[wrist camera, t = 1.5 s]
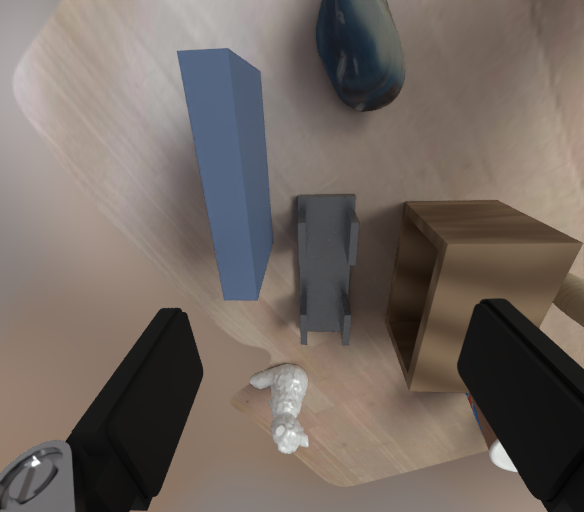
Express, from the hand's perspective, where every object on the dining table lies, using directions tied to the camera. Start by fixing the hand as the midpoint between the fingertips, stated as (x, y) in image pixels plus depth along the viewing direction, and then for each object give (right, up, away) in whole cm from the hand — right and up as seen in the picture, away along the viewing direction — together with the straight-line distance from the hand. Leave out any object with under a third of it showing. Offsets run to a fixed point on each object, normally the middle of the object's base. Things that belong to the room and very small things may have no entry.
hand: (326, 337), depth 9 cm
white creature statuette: (-2, -17, +38) cm, 42 cm away
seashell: (+5, +22, +16) cm, 28 cm away
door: (-5, +12, +21) cm, 25 cm away
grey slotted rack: (+3, +1, +27) cm, 27 cm away
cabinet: (+17, +1, +26) cm, 31 cm away
